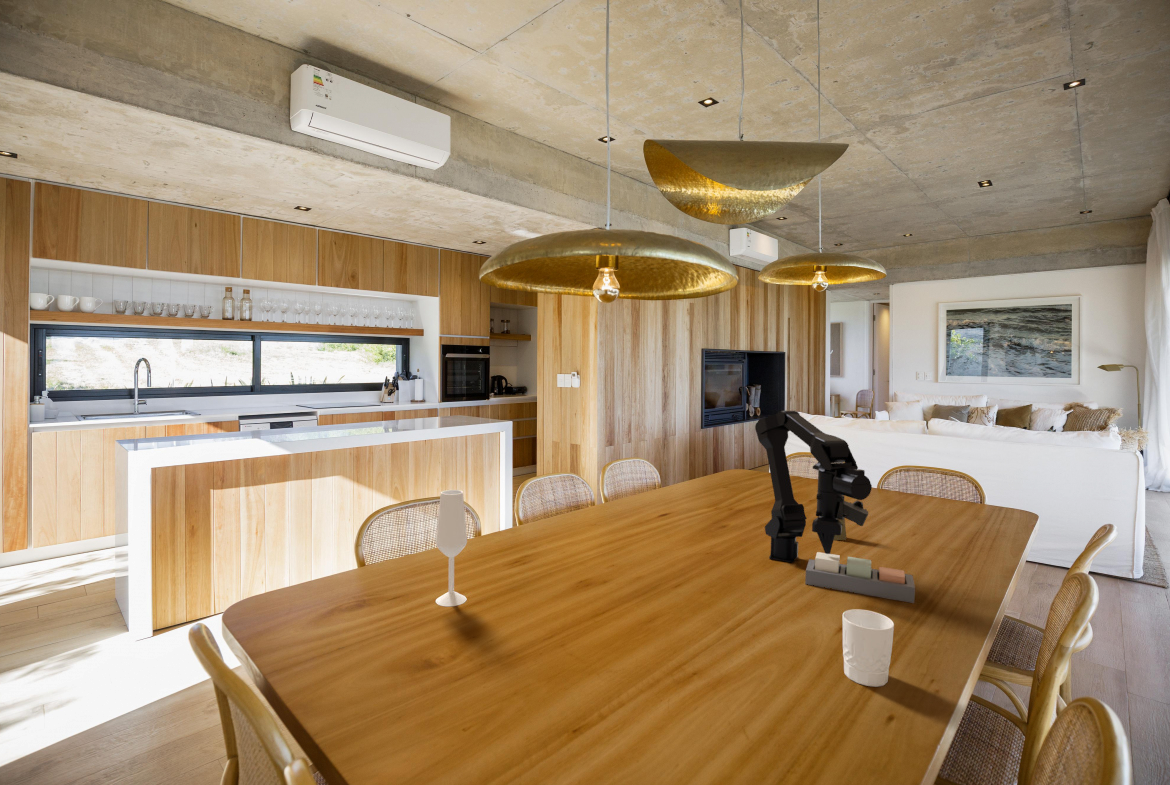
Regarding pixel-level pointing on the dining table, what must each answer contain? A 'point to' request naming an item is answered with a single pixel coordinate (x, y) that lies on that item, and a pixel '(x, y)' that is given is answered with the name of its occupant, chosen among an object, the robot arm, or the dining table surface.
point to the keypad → (861, 583)
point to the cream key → (827, 562)
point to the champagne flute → (451, 538)
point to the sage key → (859, 567)
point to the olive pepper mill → (843, 532)
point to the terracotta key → (891, 575)
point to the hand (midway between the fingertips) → (827, 553)
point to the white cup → (867, 646)
